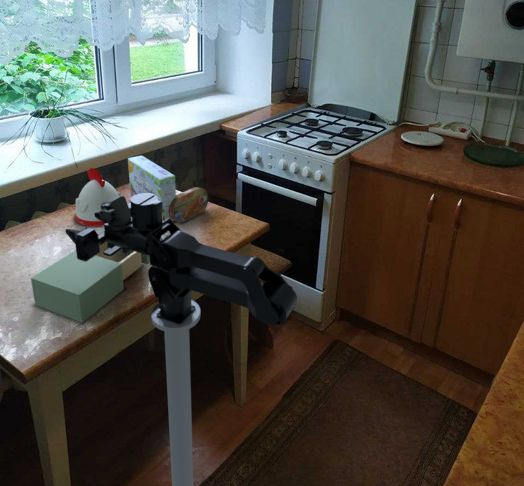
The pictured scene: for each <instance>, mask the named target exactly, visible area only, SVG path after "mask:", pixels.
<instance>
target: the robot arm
mask: <svg viewBox="0 0 524 486" xmlns="http://www.w3.org/2000/svg"><path fill="white" fill-rule="evenodd" d="M129 200H130V202H129V203H128V201H127V198H126V197H125V196H124V195H121V196H119V197H113V198H110V199H109V200H107V201H105V202H103V203H102V204H101V211H99V212H96V213H94V215H95V217H96V218H97V219H99V220H100V221H102V222H103V223H106V224H104V226H103V230H102V231H100V232H99V233H98V232H97V231H96V230H95V229H94V228H88V226H86V227H84V228H82V229H80V230H78V229H74V228H66V229H64V231H65V235H67V237H68V238H69V239H70V240H71V242H73V244H74V245H75V250H76V253H77V259H79V260H81V261H85V262H87V261H88V260H90V259H91V258H93V257H94V256H96V255H97V254H98V253H99V252H100V248H99V246H100V245H102V244H103V243H105V242H107V246H108V248H110V249H112V248H113V247H115V246H118V247H121V248H122V252H124V253H127V252H129V251H130V250H131V251H135V252H138V253H142V254H145V255H149V257H150V263H149V265H150V267H149V268H148V270H147V276H148V281H149V283H150V286H151V289H152V291H153V294H154V296H155V298H158V304H159V309H160V311H159V312H158V313H157V314H156V316H157V317H159V318H162V319H165V320H168V321H171V322H173V323H176V324H182V323H183V322H184V321H185V320H186V318H187V317H188V316H189V315H190V314H191V313H192V312H193V311H194V310H195V306H193V305H191V300H192V292H194V293H197V294H201V295H205V296H207V297H211V298H215V299H218V300H221V301H223V302H224V301H225V302H228V303H231V304H234V305H237V306H239V307H243V308H246V309H247V310H248V311H249V312H250V313H251V314H252V315H253V317H254V318H255V319H257V320H258V321H261V322H263V323H264V324H267V325H269V326H272V327H279V326H281V325H283V324H284V323H285V322H286V321H287V320H288V318H289V316H290V314H292V311H293V310H294V308H295V306H296V305H297V303H298V296H297V293H296V291H295V290H294V289H293V287H292V286H291V285H290V284H289V283H288V282H287V281H286V280H285V278H284V277H283V276H282V275H281V274H280V273H278V272H276V271H274V270H273V269H271V268H270V267H269V266H268V265H267V264H266V263H265V262H264V260H263V259H261V258H260V257H258V256H253V257H251V256H247V255H243V254H239V253H236V252H232V251H229V250H225V249H222V248H217V247H214V246H210V245H207V244H203V243H201V242H200V241H198V239H197V238H196V237H195V236H194V235H191V234H189V233H187V232H185V231H183V230H182V229H181V228H180V227H179V226H178V225H177V224H176V223H175V221H172V220H171V219H170V218H168V219H167V220H165V221H163V220H162V208H163V203H162V201H158V197H157V196H155V194H152V193H141V194H136V195H134V196H132V197H131V196H130V199H129ZM166 233H169V234H168V235H167V236H166V237H164V238H163V236H164V235H166ZM261 280H262V282H261Z"/></svg>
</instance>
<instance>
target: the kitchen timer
mask: <svg viewBox="0 0 524 486" xmlns="http://www.w3.org/2000/svg"><path fill="white" fill-rule="evenodd" d="M86 173H87V176H88V179H89V181H88V182H87V183H86V184H85V185H84V186H83V188H82V189H81V190H80V193H79V195H78V197H77V198H75V218H76V219H75V220H76V222H77V223H79V224H81V225H83V226H86V227H102V226H103V227H104V224H106V223H103V222H102V221H100V220H99V219H97V218H96V217H95V215H94V213H96V212H99V211H101V204H102V203H103V202H105V201H107V200H109V199H110V198H113V197H119V196H122V195H121V192H120V191H117V190H116V189H115V187H114V186H113V185H112V184H111V183H109V181H106V180H104V179H103V175H101V174H100V170H97V169H94V167H91V168H89V170H87V171H86Z"/></svg>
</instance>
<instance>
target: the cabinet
mask: <svg viewBox="0 0 524 486" xmlns="http://www.w3.org/2000/svg"><path fill="white" fill-rule="evenodd" d="M30 281H31V287H32V294H33V300H34V304H35V306H37V307H40V308H43V309H45V310H48V311H50V312H53V313H55V314H58V315H61V316H64V317H66V318H69V319H71V320H74V321H77V322H80V323H84V322H85V321H87V320H88V319H89V318H90V317H92V316H93V315H94V314H95V313H97V312H98V311H99V310H100V309H101V308H103V307H105V305H106V304H107V303H109V302H110V301H111V300H113V299H114V298H115V297H116V296H117V295H119V294H120V293H121V292H122V291H124V289H125V287H124V280H123V274H122V264H121V263H118V262H115V261H111V260H108V259H105V258H102V257H98V256H94V257H93V258H91V259H90V260H88V261H87V262H85V261H81V260H79V259H77V253H76V249H75V250H73V251H71V252H70V253H68V254H66V256H64V257H62V258H61V259H59V260H58V261H56V262H54V263H52V264H51V265H49V266H48V267H46V268H44V269H43V270H42V271H40V272H38V273H36V274H35V275H33V276H32V277H30Z"/></svg>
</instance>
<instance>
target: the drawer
mask: <svg viewBox="0 0 524 486" xmlns="http://www.w3.org/2000/svg"><path fill="white" fill-rule="evenodd" d="M99 248H100V252H99V253H98V254H97V255H96V256H98V257H102V258H103V252H104V251H106V250H107V249H109V248H108V246H107V242H105V243H103V244H102V245H100V246H99ZM119 263H121V264H122V274H123V281H125V280H126V279H127V278H128V277H129V276H131V275H132V274H133V273H135V272H136V271H137V270H138V269H140V268H141V267H142V266H143V264H144V265H150V257H149V255H145V254H142V253H138V252H135V251H131V250H130V251H129V252H128V256H127V257H126V258H124V259H123V260H122V261H120V262H119Z"/></svg>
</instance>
